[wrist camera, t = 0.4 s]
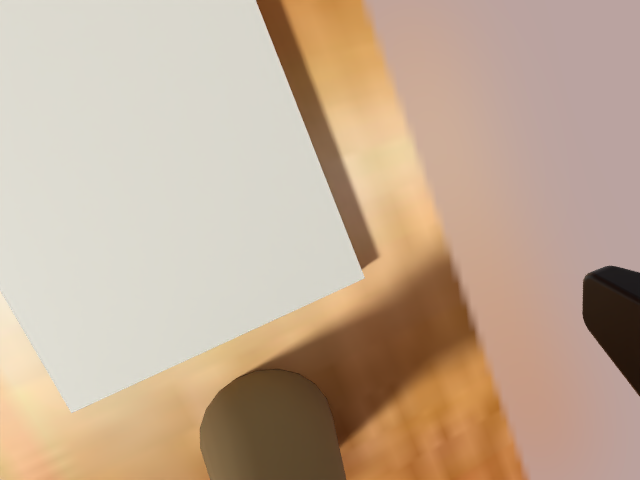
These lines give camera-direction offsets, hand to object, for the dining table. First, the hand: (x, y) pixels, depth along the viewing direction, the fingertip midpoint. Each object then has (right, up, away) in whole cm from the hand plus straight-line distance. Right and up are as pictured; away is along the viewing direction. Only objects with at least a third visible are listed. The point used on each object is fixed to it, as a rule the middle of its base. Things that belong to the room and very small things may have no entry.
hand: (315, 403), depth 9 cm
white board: (-7, +6, +15) cm, 18 cm away
